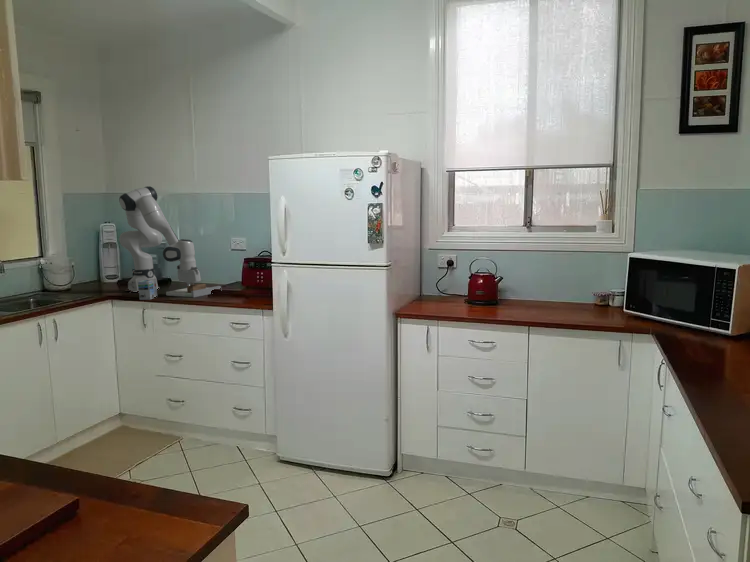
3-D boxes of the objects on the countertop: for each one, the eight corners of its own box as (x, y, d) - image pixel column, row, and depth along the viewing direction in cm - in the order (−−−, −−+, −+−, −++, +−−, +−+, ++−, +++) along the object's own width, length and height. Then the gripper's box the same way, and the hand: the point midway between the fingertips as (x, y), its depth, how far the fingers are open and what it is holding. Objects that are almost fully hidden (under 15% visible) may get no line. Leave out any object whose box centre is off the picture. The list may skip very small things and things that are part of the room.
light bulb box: (150, 299, 333) (148, 281, 332) (139, 300, 333) (137, 281, 332) (157, 296, 344) (156, 278, 342) (146, 297, 344) (145, 279, 342)
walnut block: (187, 292, 339) (186, 286, 339) (200, 290, 348) (199, 283, 347) (193, 293, 337) (192, 286, 336) (206, 290, 346) (205, 283, 345)
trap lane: (166, 295, 347) (165, 289, 347) (194, 289, 365) (193, 284, 364) (193, 297, 334) (193, 291, 333) (221, 291, 351) (221, 285, 351)
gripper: (202, 266, 338) (204, 289, 339) (184, 265, 351) (186, 287, 353) (192, 267, 333) (194, 291, 335) (175, 266, 347) (177, 289, 349)
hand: (190, 289), depth 344 cm, fingers closed
